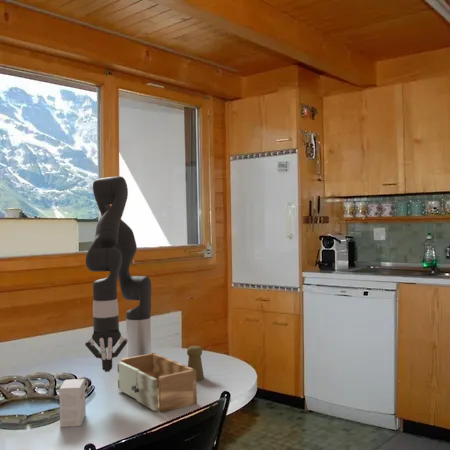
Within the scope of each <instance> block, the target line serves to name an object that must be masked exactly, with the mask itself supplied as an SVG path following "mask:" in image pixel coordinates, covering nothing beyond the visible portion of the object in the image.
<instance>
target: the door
mask: <svg viewBox="0 0 450 450" xmlns="http://www.w3.org/2000/svg"><path fill="white" fill-rule="evenodd" d="M136 371H139V369H137V368H134V367H132V366H130V365H128V364H125V363H123V362H121V361H120V362H118V364H117V373H118V380H117V388H118V390H119V391H120V392H123V393H124V394H125V395H128V396H130V397H131V398H133V399H134V400H136V393H135V392H134V389H135V388H136Z"/></svg>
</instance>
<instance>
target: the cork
mask: <svg viewBox="0 0 450 450" xmlns="http://www.w3.org/2000/svg"><path fill="white" fill-rule="evenodd" d="M186 353H187V356H188V362H187V366H188V367H190V368H193V369H195V370H196V382H199V381H202V380H204V379H205V375H204V367H203V362H202V361H203V360H202V354H203V348H202V347H201V346H199V345H190V346H189V347H187V350H186Z"/></svg>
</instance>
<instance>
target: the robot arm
mask: <svg viewBox="0 0 450 450" xmlns="http://www.w3.org/2000/svg"><path fill="white" fill-rule="evenodd" d="M92 192H93V196H94V199H95V202H96V205H97V208H98V210H99V212H100V216H101V217H100V218H99V220H98V222H97V224H96V230H95V236H94V239H93V241H92V243H91V245H90V247H89V248H88V251H87V252H86V256H85V266H86V267H87V269H88V270H89V271H90V272H101V273H102V272H109V274H108V276H106V277H105V278H100V279H97V280H94V281H93V283H92V293H93V294H92V296H93V299H92V302H93V304H92V321H93V322H92V325H93V333H92V336H91V338H90V339H88V340H87V341H86V342H85V345H84V346H85V347H87V349H88V350H89V351H90V352H91V353H92V355H94V357H95V358H97V359H101V364H102V365H101V366H102V370H103V371H104V372H105V373H108V372H111V370H112V369H113V358H117V357H118V356H119V354H120V353H121V352H122V350H124V348H125V347H126V358H129V357H134V356H140V355H145V354H150V353H152V324H151V321H152V319H151V318H152V317H151V313H152V281H151V279H150V277H149V276H146V275H131V272H130V266H131V263H132V261H133V259H134V257H135V255H136V253H137V242H136V239H135V233H134V232H133V229H132V228H131V227H130V226H129V225H128V224H127V223H126V222H125V221H124V220H122V217H123V214H124V212H125V209H126V205H127V200H128V197H129V196H128V195H129V190H128V185H127V181H126V179H125V178H124V177H123V176H118V175H117V176H109V177H108V176H107V177H102V178H101V177H100V178H97V179H95V180H94V181H93V183H92ZM118 283H119V289H120V293H121V295H122V297H123V299H124V300H127V301H139V304H138V305H137V306H136V307H134V308H131V309H128V310H126V314H125V322H126V323H125V324H126V325H125V327H126V329H125V330H126V338H125V337H124V336H122V333H121V331H120V321H119V319H120V318H119V317H120V316H119V313H120V310H119V304H118V303H119V302H118ZM118 341H119V342H118ZM117 343H119V345H118V346H117V348H116V350H115V351H113V350H114V347H115V346H116V345H117ZM95 344H96V346H98V348H99V349H100V350H98V348H97V347H96V346H95Z"/></svg>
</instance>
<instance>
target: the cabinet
mask: <svg viewBox="0 0 450 450" xmlns="http://www.w3.org/2000/svg"><path fill="white" fill-rule="evenodd" d="M120 362H123V363H125V364H128V365H130V366H132V367H134V368H137V369H139V371H136V388H135V389H134V392H135V393H136V399H135V400H136V401H137V402H139V403H140V404H142V405H144V406H145V407H147V408H149V409H150V410H152V411H153V412H154V411H158V412H160V413H161V414H162V413H166V412H169V411H173V410H176V409H180V408H184V407H189V406H193V405H195V404H198V401H197V400H198V398H197V397H198V395H197V394H198V392H197V381H196V370H195V369H193V368H190V367H188V365H185V364H182V363H181V362H178V361H175V360H173V359H171V358H168V357H165V356H163V355H161V354H158V353H155V352H151V353H150V354H145V355H140V356H134V357H129V358H127V357H125V358H121V359H120Z"/></svg>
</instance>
